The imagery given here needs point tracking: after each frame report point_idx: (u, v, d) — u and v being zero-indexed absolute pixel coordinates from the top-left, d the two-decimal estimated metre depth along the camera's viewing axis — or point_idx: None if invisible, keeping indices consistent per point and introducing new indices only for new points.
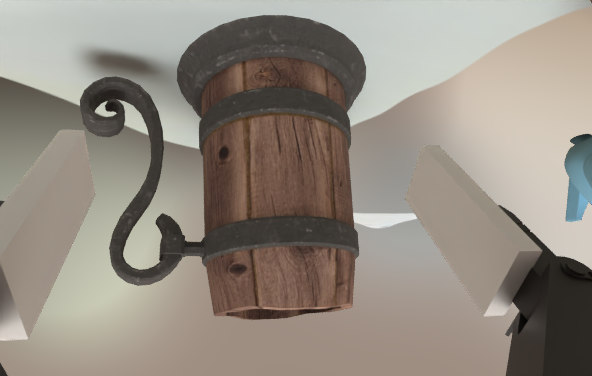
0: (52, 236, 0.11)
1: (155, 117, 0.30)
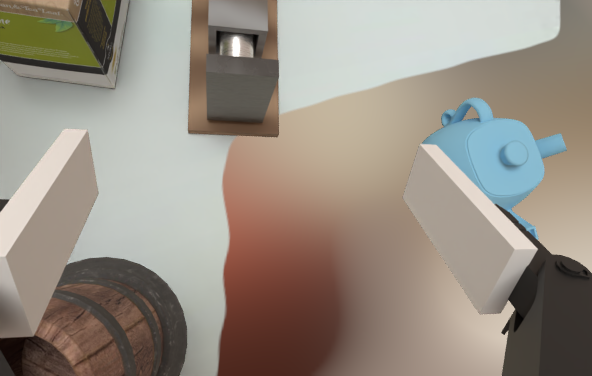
0: (57, 235, 0.12)
1: None
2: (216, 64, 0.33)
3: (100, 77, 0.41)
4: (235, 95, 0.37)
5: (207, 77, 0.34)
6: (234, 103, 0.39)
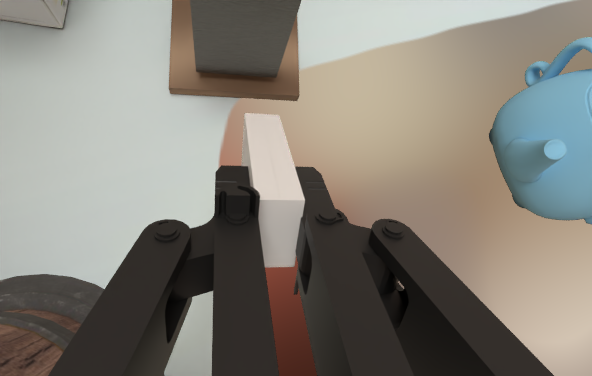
0: None
1: None
2: None
3: (35, 4, 0.27)
4: (237, 20, 0.24)
5: None
6: (235, 38, 0.25)
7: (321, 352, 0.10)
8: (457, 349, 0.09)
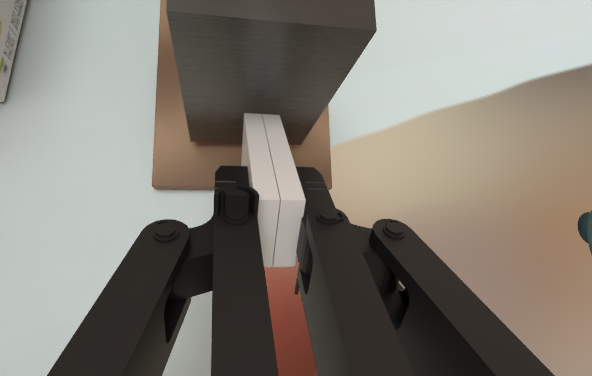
0: None
1: None
2: None
3: None
4: (251, 88, 0.15)
5: (174, 32, 0.12)
6: (247, 107, 0.17)
7: (322, 352, 0.10)
8: (457, 349, 0.09)
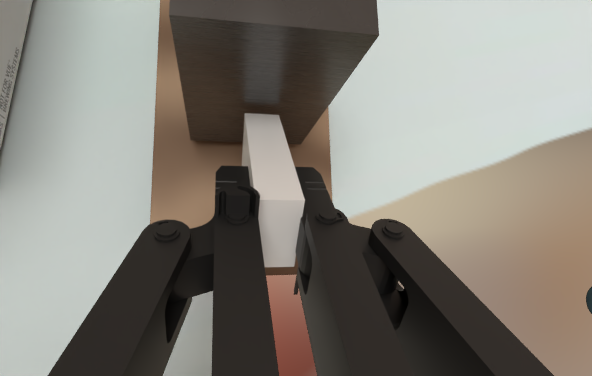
0: None
1: None
2: None
3: None
4: (253, 89, 0.15)
5: (176, 35, 0.12)
6: (248, 107, 0.17)
7: (321, 352, 0.10)
8: (456, 349, 0.09)
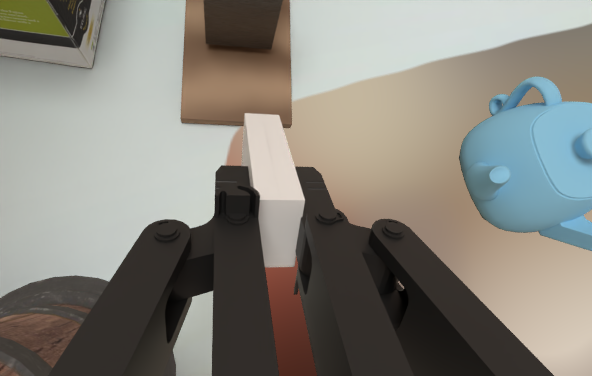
0: None
1: None
2: None
3: (71, 51, 0.33)
4: None
5: None
6: (237, 12, 0.32)
7: (321, 352, 0.10)
8: (456, 349, 0.09)
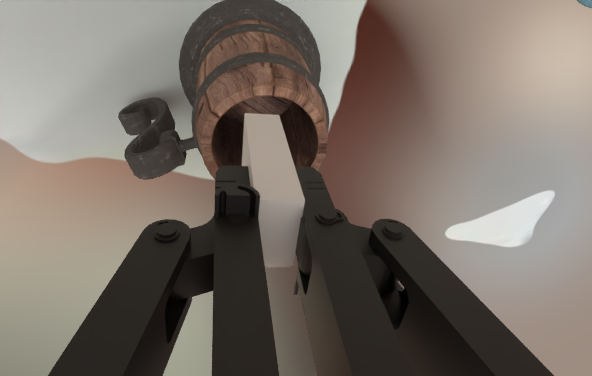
0: None
1: (162, 102, 0.43)
2: None
3: None
4: None
5: None
6: None
7: (321, 352, 0.10)
8: (456, 349, 0.09)
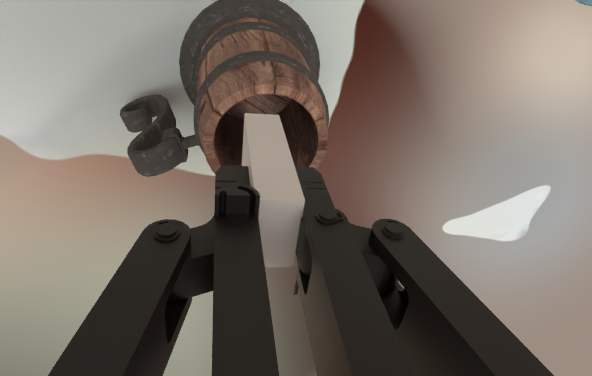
0: None
1: (163, 100, 0.43)
2: None
3: None
4: None
5: None
6: None
7: (321, 352, 0.10)
8: (456, 349, 0.09)
